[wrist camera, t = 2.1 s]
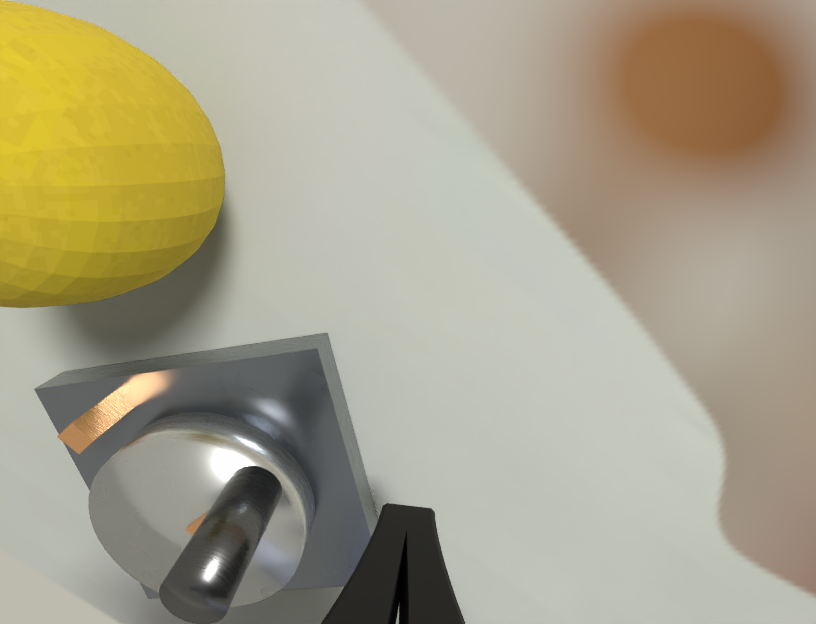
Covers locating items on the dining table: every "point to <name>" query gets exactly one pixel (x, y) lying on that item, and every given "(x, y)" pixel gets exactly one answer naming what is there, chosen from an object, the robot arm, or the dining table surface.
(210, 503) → the dial
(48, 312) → the dining table surface
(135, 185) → the lemon
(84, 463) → the dial plate
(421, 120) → the dining table surface
